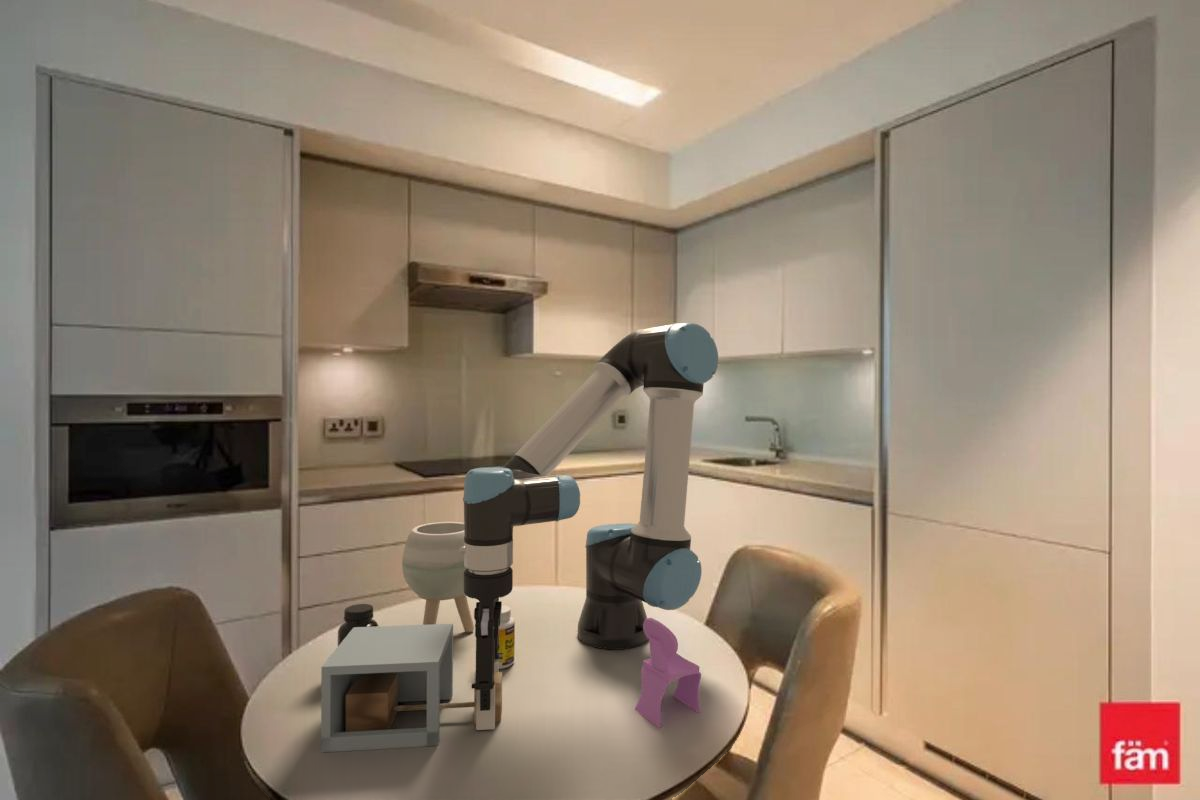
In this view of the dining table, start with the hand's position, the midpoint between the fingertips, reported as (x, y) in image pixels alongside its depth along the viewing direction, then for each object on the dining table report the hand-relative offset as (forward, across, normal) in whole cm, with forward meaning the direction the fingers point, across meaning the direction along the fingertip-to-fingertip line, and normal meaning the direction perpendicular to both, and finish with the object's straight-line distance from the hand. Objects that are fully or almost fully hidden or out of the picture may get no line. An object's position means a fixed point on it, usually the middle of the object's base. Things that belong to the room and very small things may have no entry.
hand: (487, 714), depth 90 cm
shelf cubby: (0, 0, -14) cm, 14 cm away
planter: (0, -33, -12) cm, 35 cm away
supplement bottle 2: (+1, -18, +1) cm, 18 cm away
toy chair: (+1, +1, +29) cm, 29 cm away
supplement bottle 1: (0, -16, -24) cm, 29 cm away
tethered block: (0, 0, -9) cm, 9 cm away
